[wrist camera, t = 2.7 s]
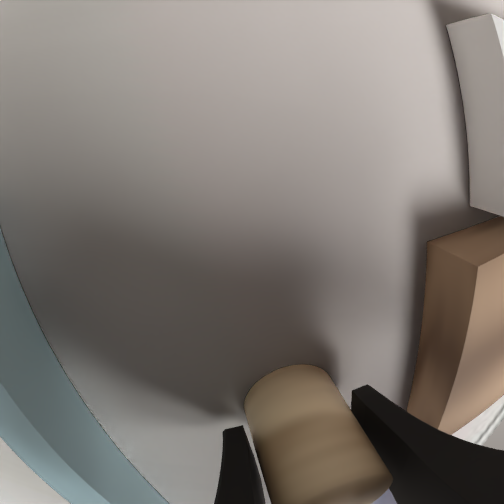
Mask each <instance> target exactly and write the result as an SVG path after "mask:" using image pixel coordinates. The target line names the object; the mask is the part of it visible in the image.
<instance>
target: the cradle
mask: <svg viewBox="0 0 504 504" xmlns="http://www.w3.org/2000/svg"><path fill="white" fill-rule="evenodd" d="M446 27H447V31H448V34H449V38H450V42H451V46H452V50H453V54H454V58H455V62H456V67H457V72H458V77H459V82H460V88H461V94H462V100H463V107H464V114H465V122H466V131H467V142H468V156H469V178H470V206H472V207H475V208H478V209H482V210H485V211H488V212H491V213H494V214H497V215H500V216H502V217H504V20H503V19H502V18H500V17H498V16H496V15H494V14H492V13H490V14H485V15H481V16H477V17H473V18H469V19H465V20H462V21H458V22H455V23H451V24H448V25H446Z"/></svg>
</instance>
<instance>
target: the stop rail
mask: <svg viewBox="0 0 504 504" xmlns="http://www.w3.org/2000/svg"><path fill="white" fill-rule="evenodd" d="M0 437H1V438H2V439H3V440H4V441H5V443H6V444H7V445H8V446H9V447H10V448H11V449H12V450H13V451H14V452H15V453H16V454H17V455H18V456H19V458H20V459H21V460H22V461H23V462H24V463H25V464H26V465H27V466H29V467H30V468H31V469H32V470H33V471H34V472H35V473H36V474H37V475H38V476H39V477H40V478H41V479H42V480H43V481H45V482H46V483H47V484H48V485H49V486H50V487H51V488H53V489H54V490H55V491H56V492H57V493H59V494H60V495H61V496H62V497H63V498H65V499H66V500H67V501H68V502H70V503H71V504H169V503H168V502H167V501H166V500H165V499H164V498H163V497H162V496H161V495H160V494H159V493H158V492H157V491H156V490H155V489H154V488H153V487H152V486H151V485H150V484H149V483H148V482H147V481H146V480H145V479H144V478H143V477H142V475H141V474H140V473H139V472H138V471H137V470H136V469H135V468H134V467H133V465H132V464H131V463H130V462H129V461H128V460H127V459H126V457H125V456H124V455H123V454H122V453H121V451H120V450H119V449H118V448H117V447H116V445H115V444H114V443H113V442H112V440H111V439H110V438H109V436H108V435H107V434H106V433H105V431H104V430H103V429H102V427H101V426H100V425H99V423H98V422H97V421H96V419H95V418H94V416H93V415H92V414H91V412H90V411H89V409H88V408H87V406H86V405H85V403H84V402H83V401H82V399H81V398H80V396H79V394H78V393H77V391H76V390H75V388H74V387H73V385H72V384H71V382H70V380H69V379H68V377H67V375H66V374H65V372H64V370H63V369H62V367H61V365H60V364H59V362H58V360H57V358H56V357H55V355H54V353H53V351H52V349H51V348H50V346H49V344H48V342H47V340H46V338H45V336H44V334H43V332H42V330H41V328H40V326H39V324H38V322H37V320H36V318H35V316H34V314H33V312H32V310H31V307H30V305H29V303H28V301H27V298H26V296H25V294H24V291H23V289H22V287H21V284H20V282H19V279H18V277H17V274H16V272H15V269H14V266H13V264H12V261H11V258H10V255H9V252H8V250H7V247H6V244H5V241H4V237H3V234H2V231H1V228H0Z"/></svg>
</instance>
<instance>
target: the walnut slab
mask: <svg viewBox="0 0 504 504" xmlns="http://www.w3.org/2000/svg"><path fill="white" fill-rule="evenodd" d="M503 395H504V217H502V216H499V217H496V218H494V219H491V220H488V221H485V222H483V223H480V224H477V225H474V226H472V227H469V228H466V229H463V230H460V231H457V232H454V233H452V234H449V235H446V236H443V237H440V238H437V239H434V240H431V241H428V242H427V263H426V282H425V296H424V307H423V317H422V326H421V334H420V341H419V348H418V355H417V361H416V367H415V372H414V378H413V383H412V388H411V393H410V397H409V402H408V406H407V412H408V413H410V414H411V415H413V416H415V417H416V418H418V419H420V420H421V421H423V422H425V423H427V424H429V425H431V426H433V427H434V428H436V429H438V430H440V431H443V432H445V433H447V434H449V435H452V434H453V433H455V432H456V431H458V430H459V429H460V428H462V427H463V426H465V425H466V424H467V423H469V422H470V421H472V420H473V419H474V418H476V417H477V416H478V415H480V414H481V413H482V412H483V411H485V410H486V409H487V408H488V407H490V406H491V405H492V404H493V403H495V402H496V401H497V400H498V399H499V398H501V397H502V396H503Z"/></svg>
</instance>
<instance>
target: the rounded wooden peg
mask: <svg viewBox="0 0 504 504" xmlns="http://www.w3.org/2000/svg"><path fill="white" fill-rule="evenodd" d="M244 409H245V414H246V417H247V421H248V425H249V428H250V432H251V436H252V439H253V443H254V446H255V450H256V453H257V457H258V460H259V464H260V467H261V471H262V474H263V477H264V481H265V484H266V487H267V491H268V494H269V497H270V500H271V504H371V503H373V502H374V501H376V500H377V499H378V498H379V497H380V496H382V495H383V494H384V493H385V492H386V491H387V490H388V488H389V487H390V486H391V484H392V481H393V477H392V475H391V473H390V472H389V470H388V468H387V467H386V465H385V464H384V462H383V461H382V459H381V457H380V456H379V454H378V453H377V451H376V449H375V448H374V446H373V445H372V443H371V441H370V440H369V438H368V437H367V435H366V433H365V432H364V430H363V429H362V427H361V426H360V424H359V422H358V421H357V419H356V418H355V416H354V414H353V413H352V411H351V410H350V408H349V406H348V405H347V403H346V402H345V400H344V398H343V397H342V395H341V394H340V392H339V391H338V389H337V387H336V386H335V384H334V383H333V381H332V379H331V378H330V376H329V375H328V373H327V372H326V371H324V370H323V369H321V368H319V367H317V366H314V365H307V364H299V365H291V366H287V367H283V368H280V369H277V370H275V371H273V372H271V373H269V374H267V375H266V376H264V377H263V378H261V379H260V380H259V381H258V382H256V383H255V384H254V385H253V387H252V388H251V389H250V390H249V392H248V394H247V396H246V398H245V402H244Z"/></svg>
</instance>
